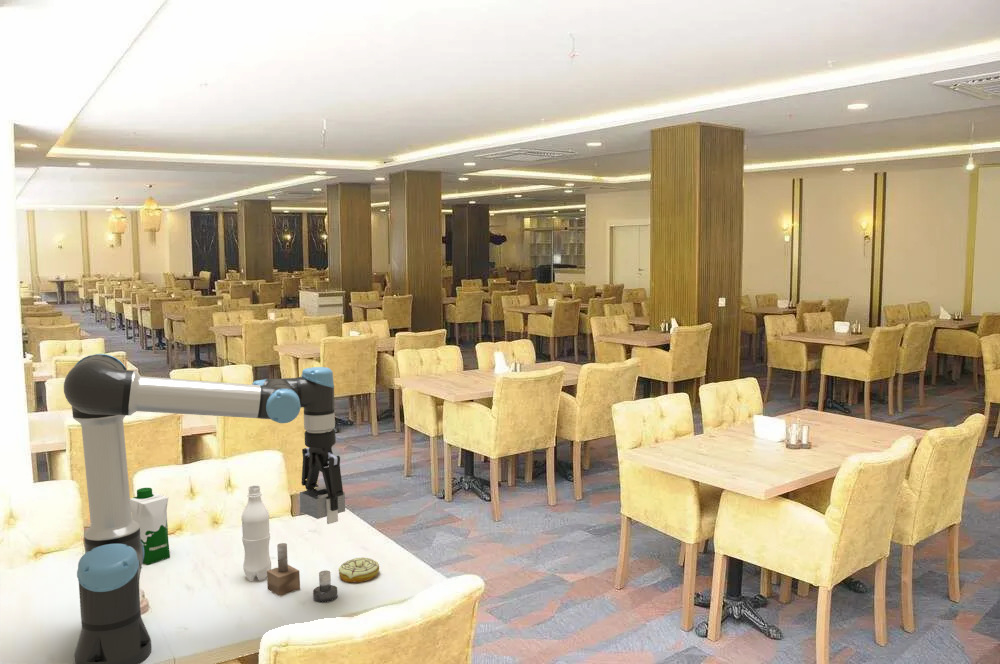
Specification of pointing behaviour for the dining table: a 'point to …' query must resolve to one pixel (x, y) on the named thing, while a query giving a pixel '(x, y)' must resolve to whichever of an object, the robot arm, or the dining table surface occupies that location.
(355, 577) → the decorated donut
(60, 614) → the dining table surface
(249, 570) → the water bottle
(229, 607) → the dining table surface
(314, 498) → the square steel tube
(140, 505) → the milk carton
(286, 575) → the stand
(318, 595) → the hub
